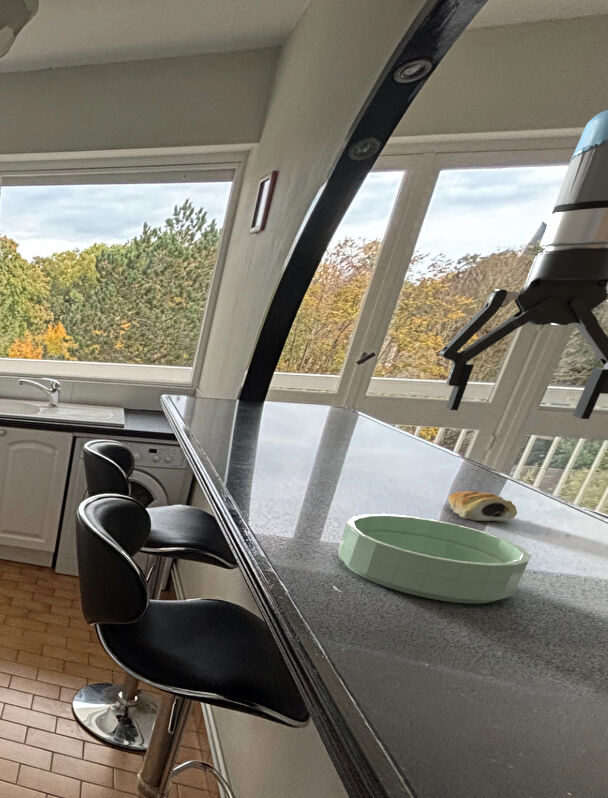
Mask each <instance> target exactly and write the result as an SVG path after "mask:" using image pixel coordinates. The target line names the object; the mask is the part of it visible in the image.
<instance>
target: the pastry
mask: <svg viewBox="0 0 608 798" xmlns="http://www.w3.org/2000/svg"><path fill="white" fill-rule="evenodd" d="M447 500H448V503H449V506H450V508H449V509H450V510H451V511H453V513H455V514H458V516H459V517H460V518H462V519H468V520H469V521H473V522H474V521H478V522H492V521H494V522H507V521H510V520H513V519H514V518H515V517H516V516H517V514H518V511H517V507H516V505H515V504H513V501H512V500H506V499H504V498H503V497H502V496H500V495H496V494H494V493H492V492H484V491H471V490H466V491H465V490H460V491H456V492H453V493H452V494H450V495H449V496H448V498H447Z"/></svg>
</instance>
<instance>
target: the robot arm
mask: <svg viewBox="0 0 608 798" xmlns="http://www.w3.org/2000/svg"><path fill="white" fill-rule="evenodd" d="M539 246H540V248H542V249H544V250H543V251H542V252H539V253H538V254H536V255H535V256H534V259H533V262H532V265H531V266H530V267H531V268H530V270H529V273H528V275H527V278H526V281H525V284H524V286H523V287H522V288H521V289H520V291H512V290H511V291H510V290H507V289H504V288H503V289H495V290H492V291H491V292H490V293H489V295H488V298H487V299H486V301H485V303H484V305H483V307H482V308H480V310H479V311H478V312H477V313H476V314H475V315H474V316H473V317H472V318H471V319H470V320H469V321H468V322H467V323H466V324H465V325H464V326H463V327H462V328H461V329H460V330H459V331H458V332H457V333H456V334H455V335H454V336H453V338H451V339H450V340H449V341H448V342H447V343H446V345H445V346H443V348H442V349H440V351H439V352H438V355H439V356H440V357H441V358H444V359H447V360H449V361H450V362H451V367H450V369H449V373H448V376H447V378H446V385H447V386H449V387H450V386H451V387H452V390H451V393H450V396H449V398H448V401H447V403H446V407H445V408H446V409H448V410H449V411H458V410H459V407H460V405H461V402H462V399H463V397H464V394H465V391H466V388H467V386H468V382H469V380H470V377H471V374H472V372H473V369H474V366H475V364H474V363H470V361H471V360H472V359H473V358H475V357H477V356H478V355H480V354H482V353H483V352H484V351H486V350H487V349H489V348H491V346H493V345H495V344H496V343H498V342H500V341H501V340H502V339H504V338H506V337H507V336H508V335H510V334H511V333H513V332H515V330H517V329H518V328H519V329H520V328H522V327H523V326H524V325H526V324H529V325H532V326H533V325H534V326H535V325H536V326H544V325H552V326H553V325H554V326H569V325H573V326H574V327H575V328H576V329H577V330H578V332H579V333H580V334H581V336H582V337H583V339H584V340H585V342H586V343H587V345H588V346H589V347H590V349H591V350H592V351H593V353H594V354H595V356H596V357H597V359H598V360H599V362H600V363H601V364H602V367H593V368H592V369H591V373H590V374H589V377H588V379H587V381H586V384H585V386H584V388H583V390H582V393H581V395H580V398H579V400H578V402H577V405H576V407H575V409H574V411H573V414H572V417H574V418H578V419H581V420H590V418H591V415H592V414H593V411H594V409H595V407H596V405H597V402H598V400H599V398H600V395H601V394H603V395H606V394H607V395H608V335H607V334H606V332H605V331H604V329H603V328H602V327H601V325H600V323H599V320H598V318H597V317H596V316H595V314H594V313H593V310H594V309H595V308H598V306H601V304H603V303H604V302H605V301H606V302H607V303H608V288H607V286H608V109H606V110H603V111H601V112H600V113H597V114H596V115H595V116H593V117H592V118H591V119H590V120H589V121H588V122H587V123H586V125H585V127H584V130H583V132H582V134H581V137H580V138H579V141H578V143H577V145H576V148H575V150H574V152H573V154H572V157H571V159H570V161H569V165H568V168H567V170H566V173H565V176H564V179H563V182H562V185H561V187H560V190H559V193H558V195H557V199H556V201H555V204H554V207H553V210H552V212H551V216H550V219H549V220H548V223H547V226H546V228H545V231H544V233H543V235H542V239H541V241H540V244H539ZM513 301H514V303H515V305H516V307H517V308H518V311H517V312H516V313H514V314H512V315H511V316H510V317H508V318H507V319H505V321H504V322H502V323H501V324H499V325H497V326H496V327H495V328H493V329H491V330H490V331H488V332H487V333H486V334H485V335H483V336H481V337H480V338H478V339H477V340H476V341H474V342H473V343H471V344H469V346H467V347H466V348H464V349H463V350H461V349H462V348H463V347H464V346H465V345H466V344H467V343H468V342H469V341H470V340H471V339H472V338H473V337H474V336H475V335H476V334H477V332H479V331H480V329H482V328H483V327H484V326H485V324H487V323H488V322H489V320H491V319H492V318H493V317H494V315H496V313H497V312H498V311H499V310H500V309H501V308H505V307H507V306H508V305H509V304H510V303H511V302H513ZM460 350H461V351H460Z"/></svg>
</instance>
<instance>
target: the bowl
mask: <svg viewBox="0 0 608 798" xmlns="http://www.w3.org/2000/svg"><path fill="white" fill-rule="evenodd" d="M337 554H338V558H339V559H340V560H341V561H342V562H343V563H344V565H345V566H346V567H347V568H348V569H349V570H351V572H353V573H355V574H356V575H358V576H360V577H362V578H364V579H366V580H367V581H370V582H373V583H374V584H376V585H377V584H378V585H380V586H382V587H385V588H389V589H392V590H394V591H398V592H401V593H405V594H408V595H413V596H417V597H422V598H426V599H431V600H437V601H441V602H449V603H460V604H488V603H493V602H496V601H501V600H503V599H508V598H510V597H513V596H515V595H514V594H515V593H516V591H517V588H518V587H519V584H520V581H521V579H522V577H523V575H524V573H525V570H526V568H527V566H528V563H529V561H530V558H531V556H532V555H531V554H530V553H529V552H528V551H527V550H526V549H525V548H524V547H522V546H520V545H518V544H516V543H514V542H513V541H510V540H508V539H506V538H504V537H500V536H498V535H495V534H493V533H489V532H487V531H483V530H480V529H476V528H472V527H469V526H465V525H461V524H456V523H452V522H447V521H443V520H442V521H441V520H437V519H432V518H424V517H417V516H410V515H402V514H401V515H399V514H389V513H388V514H387V513H378V514H376V513H375V514H373V513H372V514H362V515H357V516H352V517H351V518H350V519H349V520H347V521H346V524H345V527H344V530H343V533H342V536H341V539H340V543H339V545H338V548H337Z"/></svg>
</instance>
